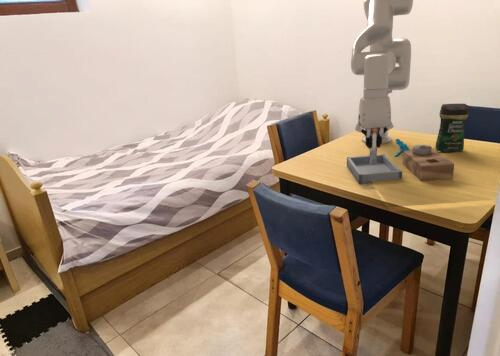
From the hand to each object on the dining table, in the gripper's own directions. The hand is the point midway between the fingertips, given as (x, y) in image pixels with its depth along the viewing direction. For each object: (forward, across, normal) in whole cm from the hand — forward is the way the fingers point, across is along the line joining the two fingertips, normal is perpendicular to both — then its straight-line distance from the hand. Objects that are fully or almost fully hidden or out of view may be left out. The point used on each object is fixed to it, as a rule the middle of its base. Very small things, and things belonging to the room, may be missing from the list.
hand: (373, 146), depth 126 cm
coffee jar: (+10, -35, -17) cm, 40 cm away
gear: (+10, -16, -14) cm, 23 cm away
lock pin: (+6, 0, 0) cm, 6 cm away
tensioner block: (+10, -17, +4) cm, 20 cm away
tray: (+10, 0, 0) cm, 10 cm away
